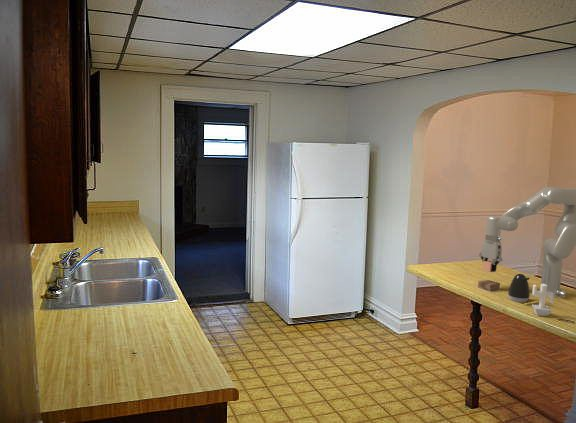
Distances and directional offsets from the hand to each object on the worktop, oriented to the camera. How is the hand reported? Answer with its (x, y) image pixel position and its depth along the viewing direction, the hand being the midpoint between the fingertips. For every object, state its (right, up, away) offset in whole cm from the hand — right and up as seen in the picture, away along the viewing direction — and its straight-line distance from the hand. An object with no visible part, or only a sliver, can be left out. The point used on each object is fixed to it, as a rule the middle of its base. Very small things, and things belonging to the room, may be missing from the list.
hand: (489, 270), depth 280 cm
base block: (0, -11, +1) cm, 11 cm away
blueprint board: (+6, -12, +2) cm, 13 cm away
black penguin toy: (+8, -15, -18) cm, 25 cm away
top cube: (0, 0, 0) cm, 0 cm away
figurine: (+10, -17, -38) cm, 42 cm away
